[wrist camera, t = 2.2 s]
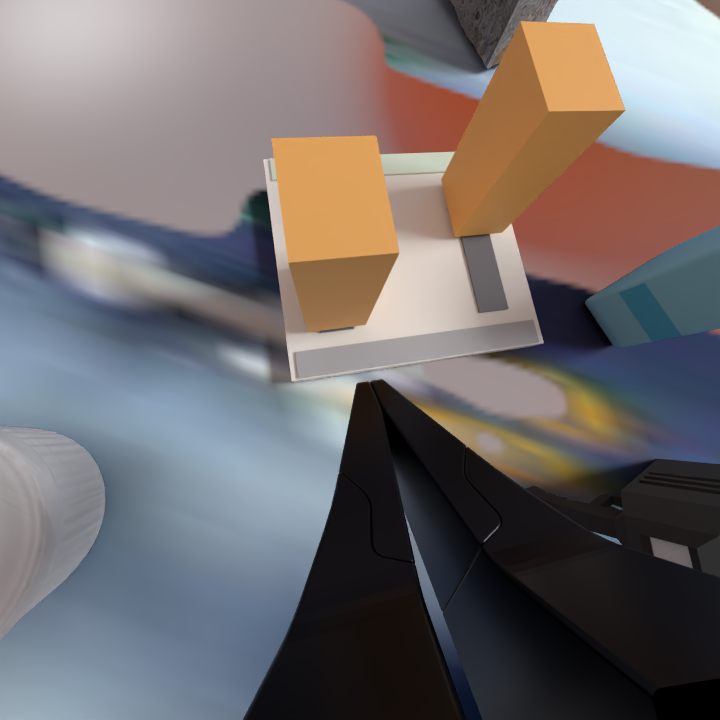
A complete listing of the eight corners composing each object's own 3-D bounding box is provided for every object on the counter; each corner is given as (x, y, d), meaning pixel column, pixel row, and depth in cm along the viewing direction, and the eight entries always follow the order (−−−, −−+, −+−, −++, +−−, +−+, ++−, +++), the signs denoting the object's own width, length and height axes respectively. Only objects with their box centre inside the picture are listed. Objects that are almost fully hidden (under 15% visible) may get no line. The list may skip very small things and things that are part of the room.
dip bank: (532, 346, 22) (545, 342, 20) (293, 382, 19) (291, 381, 18) (483, 163, 24) (493, 149, 23) (266, 172, 22) (262, 157, 20)
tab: (501, 232, 21) (625, 110, 12) (454, 236, 21) (548, 111, 12) (487, 177, 22) (593, 24, 13) (441, 179, 21) (520, 21, 13)
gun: (593, 478, 26) (778, 505, 18) (508, 532, 17) (803, 635, 9) (587, 448, 27) (766, 462, 19) (502, 486, 18) (777, 544, 10)
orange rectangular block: (365, 324, 19) (399, 252, 10) (307, 332, 18) (288, 262, 9) (354, 258, 19) (376, 135, 11) (297, 263, 19) (271, 138, 10)
